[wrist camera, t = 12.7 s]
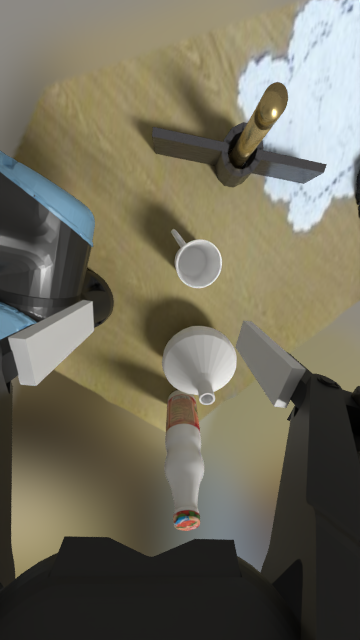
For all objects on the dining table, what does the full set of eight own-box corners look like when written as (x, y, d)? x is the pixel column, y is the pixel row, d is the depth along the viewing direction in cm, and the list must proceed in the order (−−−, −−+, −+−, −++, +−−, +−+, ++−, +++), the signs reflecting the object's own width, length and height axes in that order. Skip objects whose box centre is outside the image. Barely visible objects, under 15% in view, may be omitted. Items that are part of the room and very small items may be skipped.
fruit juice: (180, 383, 54) (186, 506, 28) (201, 398, 56) (223, 523, 30) (161, 400, 56) (150, 527, 30) (182, 413, 58) (187, 541, 32)
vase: (157, 324, 46) (145, 368, 28) (223, 310, 45) (254, 347, 27) (172, 376, 52) (170, 438, 35) (229, 365, 51) (258, 424, 34)
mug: (159, 243, 38) (153, 238, 27) (191, 220, 37) (198, 206, 25) (186, 286, 42) (190, 298, 31) (216, 267, 40) (231, 272, 29)
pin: (224, 173, 34) (258, 115, 20) (227, 154, 33) (267, 79, 19) (238, 176, 34) (282, 121, 20) (242, 157, 33) (291, 85, 19)
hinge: (154, 171, 33) (150, 158, 29) (157, 125, 31) (154, 102, 26) (298, 200, 36) (316, 191, 31) (312, 158, 33) (334, 143, 28)
